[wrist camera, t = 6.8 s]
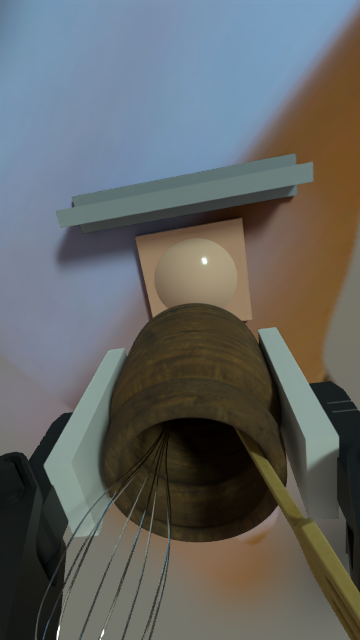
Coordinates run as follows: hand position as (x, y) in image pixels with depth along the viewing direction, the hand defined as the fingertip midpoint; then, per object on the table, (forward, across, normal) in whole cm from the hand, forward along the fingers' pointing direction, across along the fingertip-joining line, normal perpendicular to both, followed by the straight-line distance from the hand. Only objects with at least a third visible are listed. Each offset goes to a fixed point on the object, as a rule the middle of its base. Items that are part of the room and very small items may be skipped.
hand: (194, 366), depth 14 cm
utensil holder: (+1, 0, 0) cm, 1 cm away
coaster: (+16, 0, 0) cm, 16 cm away
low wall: (+16, 0, +7) cm, 17 cm away
